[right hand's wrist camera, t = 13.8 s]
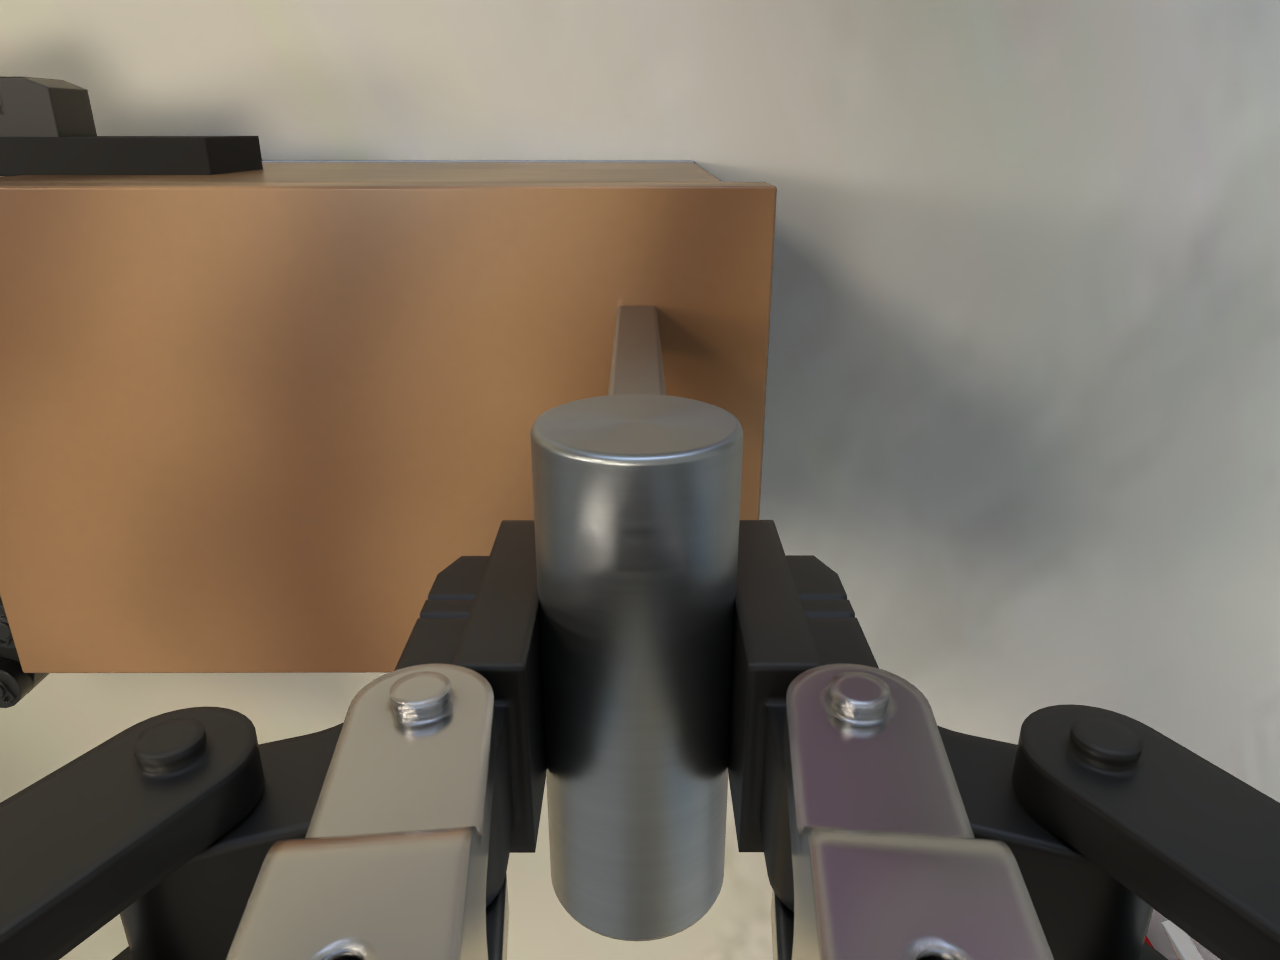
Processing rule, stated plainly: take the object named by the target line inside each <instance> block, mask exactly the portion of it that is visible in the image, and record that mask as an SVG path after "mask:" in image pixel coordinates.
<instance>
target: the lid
mask: <svg viewBox="0 0 1280 960" xmlns="http://www.w3.org/2000/svg"><path fill="white" fill-rule="evenodd" d="M776 194H777V189H776V187H775V186H772V185H770V184H768V183H766V182H0V596H1V599H2V603H3V606H4V610H5V613H6V616H7V620H8V623H9V626H10V630H11V633H12V636H13V640H14V643H15V647H16V650H17V653H18V657H19V660H20V663H21V667H22V670H23V672H24V673H279V672H393V671H394V670H395V668H396V665H397V663H398V661H399V659H400V656H401V654H402V652H403V650H404V648H405V645H406V643H407V641H408V639H409V636H410V634H411V632H412V630H413V628H414V625H415V623H416V621H417V619H418V618H420V612H421V610H422V608H423V605H424V603H425V601H426V600H428V594H429V592H430V590H431V588H432V585H433V583H434V581H435V579H436V577H437V574H439V573H440V572H441V571H442V570H444V569H445V568H446V567H448V566H449V565H450V564H452V563H453V562H454V561H456V560H457V559H458V558H460V557H461V556H490V553H491V550H492V547H493V544H494V541H495V539H496V536H497V533H498V530H499V527H500V524H501V522H502V521H503V520H534V524H535V545H536V566H537V587H538V596H539V608H540V629H541V650H542V672H543V693H544V714H545V736H546V757H547V772H546V777H547V798H548V819H549V840H550V861H551V878H552V884H553V888H554V891H555V893H556V895H557V897H558V899H559V901H560V903H561V904H562V905H563V907H564V908H565V910H566V911H567V912H568V913H569V914H570V915H571V916H572V917H573V918H574V919H575V920H576V921H577V922H579V923H580V924H581V925H583V926H584V927H586V928H588V929H590V930H591V931H593V932H596V933H598V934H600V935H603V936H606V937H610V938H613V939H619V940H625V941H649V940H655V939H661V938H664V937H668V936H671V935H674V934H676V933H679V932H681V931H683V930H685V929H687V928H688V927H690V926H692V925H693V924H695V923H696V922H697V921H698V920H700V919H701V918H702V917H703V916H704V915H705V914H706V913H707V912H708V910H709V909H710V908H711V906H712V905H713V903H714V902H715V901H716V899H717V897H718V895H719V893H720V890H721V887H722V883H723V876H724V856H725V834H726V811H727V789H728V747H729V725H730V702H731V680H732V657H733V634H734V612H735V596H736V588H737V565H738V543H739V520H759V512H760V493H761V474H762V456H763V437H764V418H765V400H766V381H767V362H768V344H769V325H770V306H771V288H772V269H773V250H774V231H775V213H776Z"/></svg>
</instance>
